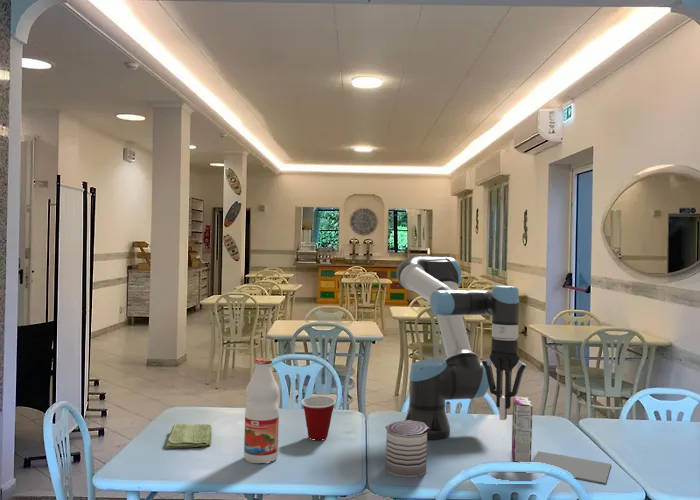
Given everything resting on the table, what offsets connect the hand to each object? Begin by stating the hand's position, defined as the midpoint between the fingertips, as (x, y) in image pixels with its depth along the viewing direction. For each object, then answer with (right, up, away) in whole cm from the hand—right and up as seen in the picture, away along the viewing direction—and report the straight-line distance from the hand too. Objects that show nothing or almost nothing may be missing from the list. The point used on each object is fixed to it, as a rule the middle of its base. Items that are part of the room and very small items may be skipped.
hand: (503, 418), depth 177 cm
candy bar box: (+5, -11, -2) cm, 12 cm away
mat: (+16, -11, -8) cm, 22 cm away
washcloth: (-94, -9, +7) cm, 94 cm away
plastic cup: (-55, -9, +12) cm, 57 cm away
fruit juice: (-70, -9, -8) cm, 71 cm away
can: (-30, -10, -13) cm, 34 cm away
